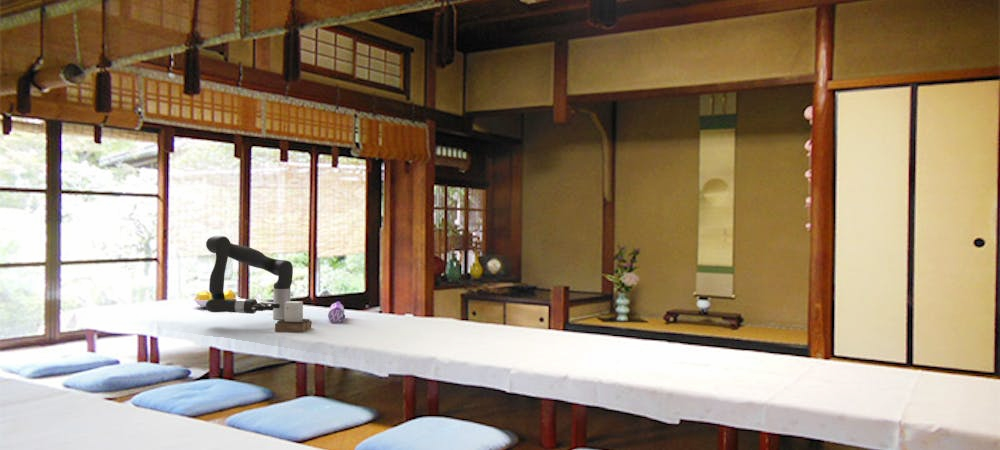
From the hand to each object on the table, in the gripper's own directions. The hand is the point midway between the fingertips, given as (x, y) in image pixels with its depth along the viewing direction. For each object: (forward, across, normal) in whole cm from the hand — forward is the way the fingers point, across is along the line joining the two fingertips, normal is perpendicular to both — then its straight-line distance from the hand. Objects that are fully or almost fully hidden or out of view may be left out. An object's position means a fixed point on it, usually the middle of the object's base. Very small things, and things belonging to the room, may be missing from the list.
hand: (276, 307), depth 366 cm
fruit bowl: (-66, +69, +12) cm, 96 cm away
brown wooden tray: (+9, 0, +12) cm, 15 cm away
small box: (+9, 0, +8) cm, 12 cm away
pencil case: (+21, +35, +12) cm, 43 cm away
